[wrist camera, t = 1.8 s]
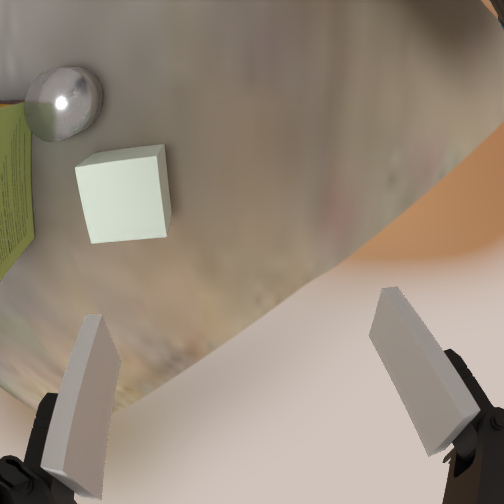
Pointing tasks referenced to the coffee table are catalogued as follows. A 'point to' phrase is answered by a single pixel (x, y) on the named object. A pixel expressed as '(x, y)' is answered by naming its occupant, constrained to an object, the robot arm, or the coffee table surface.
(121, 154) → the sage block
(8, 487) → the robot arm
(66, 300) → the coffee table surface
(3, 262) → the protein box
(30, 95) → the metal tin
